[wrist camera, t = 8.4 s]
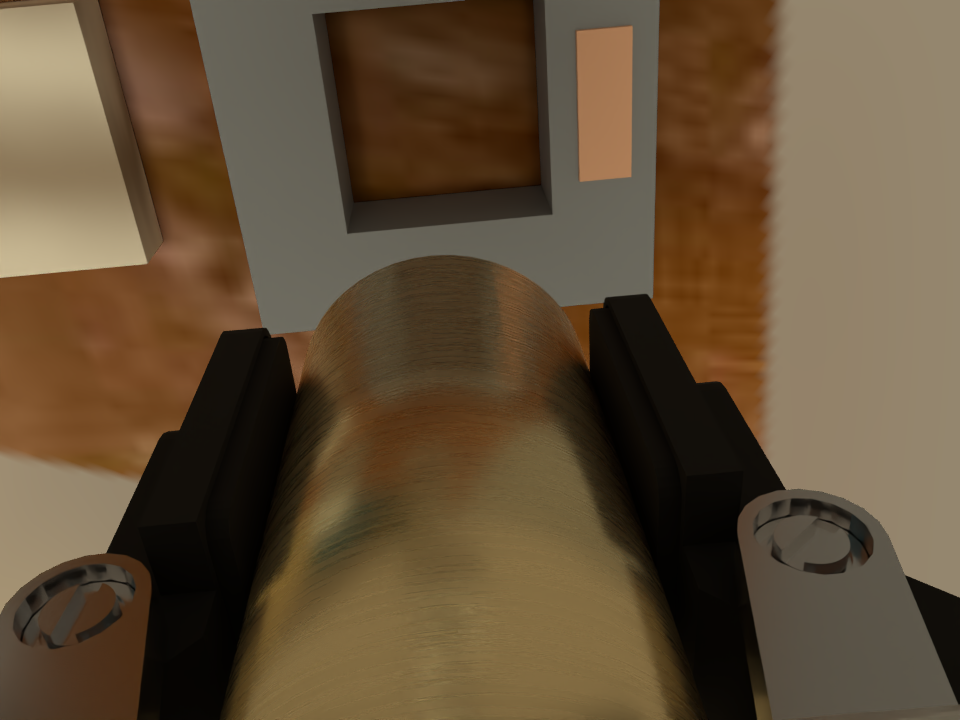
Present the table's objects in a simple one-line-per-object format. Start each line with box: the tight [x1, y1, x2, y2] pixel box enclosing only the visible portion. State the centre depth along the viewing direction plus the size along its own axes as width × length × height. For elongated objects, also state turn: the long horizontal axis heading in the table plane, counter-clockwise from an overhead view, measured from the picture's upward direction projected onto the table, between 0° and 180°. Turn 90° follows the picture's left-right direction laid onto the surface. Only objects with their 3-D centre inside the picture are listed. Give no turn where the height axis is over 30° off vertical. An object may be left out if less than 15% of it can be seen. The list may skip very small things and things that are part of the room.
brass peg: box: [220, 255, 708, 720], centre depth 9 cm, size 4×4×8 cm
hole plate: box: [190, 0, 659, 334], centre depth 27 cm, size 13×13×3 cm
